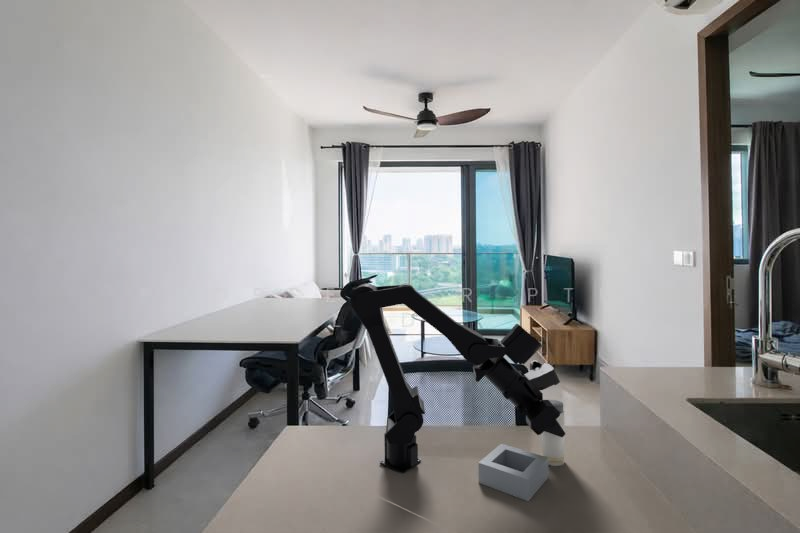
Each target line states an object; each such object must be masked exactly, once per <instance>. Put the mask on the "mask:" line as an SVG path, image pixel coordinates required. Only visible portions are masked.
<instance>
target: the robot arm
mask: <svg viewBox="0 0 800 533" xmlns="http://www.w3.org/2000/svg"><path fill="white" fill-rule="evenodd" d="M349 304H350V307H351V309H352V310H353V312H354V313H355V316H356V317H357V318H358V320H359V321H360V323H361V324H362V325H363V327H364V328H365V329H366V332H367V333H368V335H369V338H370V341H371V344H372V348H374V351H375V354H376V357H377V360H378V363H379V365H380V368H381V370H382V373H383V375H384V377H385V381H386V382H387V386H388V388H389V391H390V395H391V396H390V397H391V402H392V410H393V411H392V412H391V413H390V415H388V416H387V418H386V426H385V427H386V429H385V432H384V433H383V435H384V438H383V439H384V458H383V459H381V460H380V461H379V464H380V465H382V466H384V467H385V468H389V469H391V470H393V471H396V472H398V473H401V474H404V473H406V472H408V471H409V470H410V469H412V468H413V467H415V466H416V465H418V464H420V463H421V462H422V458H420V457H419V452H418V451H419V448H418V447H419V446H418V445H419V444H418V443H417V435H416V433H417V432H419V431H420V429H422V428H423V427H422V426H423V424H424V415H425V414H426V411H425V410H426V409H425V402H424V400H423V399H422V398H421V396H420V391H419V387H418V386H417V385H416V386H414V387H411V385H410V384H409V383H408V381H407V379H406V377H405V373H404V371H403V368H402V365H401V363H400V360H399V358H398V355H397V352H396V349H395V348H394V345H393V342H392V339H391V337H390V334H389V332H388V329H387V326H386V323H385V319H384V311H383V308H388V307H393V306H398V305H404V306H406V307H407V308H408V309H409V310H410V311H412V312H413V313H415V314H416V315H417V316H419V317H420V318H421V319H423V321H425V322H426V323H427V324H429V325H430V326H431V327H433V329H435V330H436V331H437V332H439V333H440V334H441V335H443V336H444V337H445V338H446V339H448V341H449V342H450V343H451V344H452V345H453V347H454V348H455V349H456V351H458V353H459V354H460V355H461V356H462V357H463V358H464V360H466V362H468V364H470V365H472V369H473V375H472V376H473V379H474V380H475V382H477V383H479V382H480V381H481V380H482V379H483V378H484V377H485V378H486V379H487V380H488V381H489V383H491V384H492V385H493V386H494V387H495V388H496V389H497V390H498V391H499V392H500V393H501V394H502V396H503V397H504V398H505V399H506V400H507V401H509V402H510V403H511V404H512V405H513V406H515V408H516V409H517V411H518V412H519V413H520V414H525V422H526V424H527V425H528V427H529V428H530V429H531V430H532V431H533V432H534V433H535V435H537V436H539V435H542V433H543V432H544V431H545V432H548V433H551V434H554V435H557V436H559V437H563V436H564V437H565V435H566V432H565V429H564V430H563V429H562V427H561V426H560V424H559V423H558V421H557V420H556V419H557V418H558V417H559V416H560V411H559V410H558V409H557V408H556V407H555V406H554V405H553V404H552V403H551V402H550V401H549V400H550V399H544V398H543V395H544V393H543V392H542V391H544V390H546V389H548V388H551V387H553V386H556V385H559V384H560V383H561V381H560V378H559V377H558V374H557V372H556V370H555V368H554V366H552V365H551V364H549V363H546V362H544V363H543V364H542V363H541V362H540V361H539V360H537V359H535V360H532V361H530V362H529V369H528V372H526V373H523V372H522V371H521V370H517V368H515V366H513V365H512V363H510V362H509V361H508V359H506V358H505V356H506V357H507V358H509V359H510V360H511V362H513V364H515V365H517V364H519V365H520V366H521V365H525V364H526V363H527V362H528V361H529V360H530V359H532V357H533V356H535V354H537V352H538V351H540V349H542V347H543V344H542V343H540V341H539V340H538V339H537V338H536V337H534V336H533V334H531V333H529V332H528V331H527V330H526V329H524V327H523V326H521V324H519V323H516V324H514V325H513V327H512V328H511V329H510V331H509V332H508V333H507V334H506V335H505V336H504V337H503V338H502V339H501V340H499V339H498V338H491V337H484V336H483V335H482V334H481V333H479V332H477V331H476V330H474V329H472V328H470V327H468V326H467V325H464V324H461V323H459V322H457V321H456V320H454V319H453V318H452V317H450V316H449V315H448V314H447V313H445V311H443V310H441V309H440V307H438V306H437V305H435V304H434V303H432V302H431V300H429V299H428V298H426V297H425V296H423V294H422V293H420V292H419V291H418V290H416V289H415V288H414V286H413V285H412V284H410V283H405V282H404V283H401V284H396V285H393V284H392V285H381V286H375V285H373V284H371V283H363V284H359V285H358V286H357V287H356V288H355V289H354V290H353V291H352V293H351V294H350V298H349Z"/></svg>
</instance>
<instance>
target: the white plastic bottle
mask: <svg viewBox="0 0 800 533" xmlns="http://www.w3.org/2000/svg"><path fill="white" fill-rule="evenodd" d="M548 400H549V401H550V402H551V403H552V404H553V405H554V406H555V407H556V408H557V409H558V410H559V411H560V416H559V417H558V418H557V419H556V420H557V421H558V423H559V424H560V426H561V427H562V429H563V430H564V431H565V410H564V402H562V401H560V400H557V399H548ZM541 456H545V457H548V466H551V467H561V466H563V465H564V464H565V435H564V436H563V437H559V436H557V435H554V434H551V433H548V432H545V431H544V432H543V433H542V434H541Z"/></svg>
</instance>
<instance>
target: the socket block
mask: <svg viewBox="0 0 800 533" xmlns="http://www.w3.org/2000/svg"><path fill="white" fill-rule="evenodd" d="M548 478H549V465H548V457H545V456H542V454H538V453H536V452H535V453H534V452H531V451H527V450H525V449H521V448H517V447H514V446H511V445H507V444H504V443H500V444H499V445H498V446H497V447H495V448H494V449H493V450H492V451H490V452H489V453H488V454H487V455H485V456H484V457H483V458H482V459H481V460H480V461H479V462H478V483H479V484H480V485H483V486H487V487H489V488H492V489H494V490H497V491H500V492H503V493H505V494H508V495H511V496H512V497H513V496H514V497H516V498H518V499H521V500H525V501H527V502H529V501H530V500H531V499H532V498H533V496H535V494H536V493H537V492H538V490H540V488H541V487H542V486H543V484H544V483H545V482H546V481H547V479H548Z"/></svg>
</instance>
